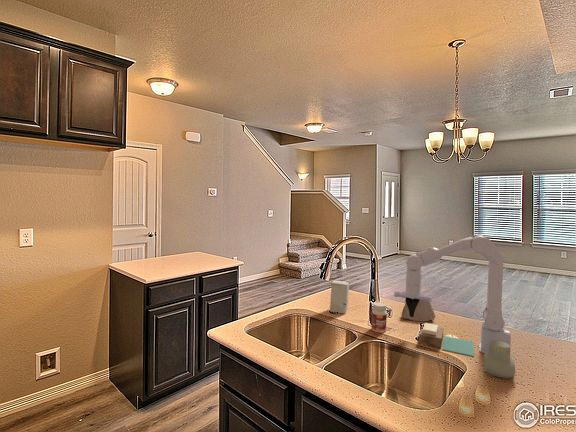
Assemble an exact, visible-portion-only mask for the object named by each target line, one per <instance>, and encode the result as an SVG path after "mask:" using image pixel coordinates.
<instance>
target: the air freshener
mask: <svg viewBox="0 0 576 432" xmlns="http://www.w3.org/2000/svg"><path fill="white" fill-rule="evenodd" d="M483 354H484V355H483V369H484V371H486V372H487V373H489V374H490V375H492V376H494V377H497V378H502V379H507V378H508V379H510V378H513V377H515V375H516V364H515V359H513V358H512V357H511V344H510V345H509V344H507V343H505V342H502V341H495V340H494V341H491V342H490V345H489V352H488V353H483Z"/></svg>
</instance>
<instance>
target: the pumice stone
mask: <svg viewBox="0 0 576 432" xmlns="http://www.w3.org/2000/svg"><path fill="white" fill-rule="evenodd" d="M401 317H402V318H404V319H405V320H410V321H413V322H429V321H434V320H435V318H437V317H436V313H435V311H434V308H433V306H432V305H431V302H428V301H422V300H420V301H419V303H418V305H417V307H416V309H415V312H414V317H410V314H409V309H408V306H407V304H406V302H405V304H404V306H403V309H402V312H401Z"/></svg>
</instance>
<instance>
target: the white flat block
mask: <svg viewBox="0 0 576 432" xmlns="http://www.w3.org/2000/svg"><path fill="white" fill-rule="evenodd" d="M438 327H439V325H438V324H434V323H428V322H424V327H423V331H422V333H426V334H431V335H436V334H437V330H438Z"/></svg>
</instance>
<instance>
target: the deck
mask: <svg viewBox="0 0 576 432" xmlns="http://www.w3.org/2000/svg"><path fill="white" fill-rule="evenodd" d="M424 324H425V323H424ZM424 324H422V325H424ZM422 331H423V329H421V328H420V331H419V334H418V345H421V344H423V345H422V346H425V345H426V346H425V347H431V348H436V349H440V350H442V347H443V341H444V328H443V327H440V326H438V330H437V334H436V335H431V334H426V333H422Z"/></svg>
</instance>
